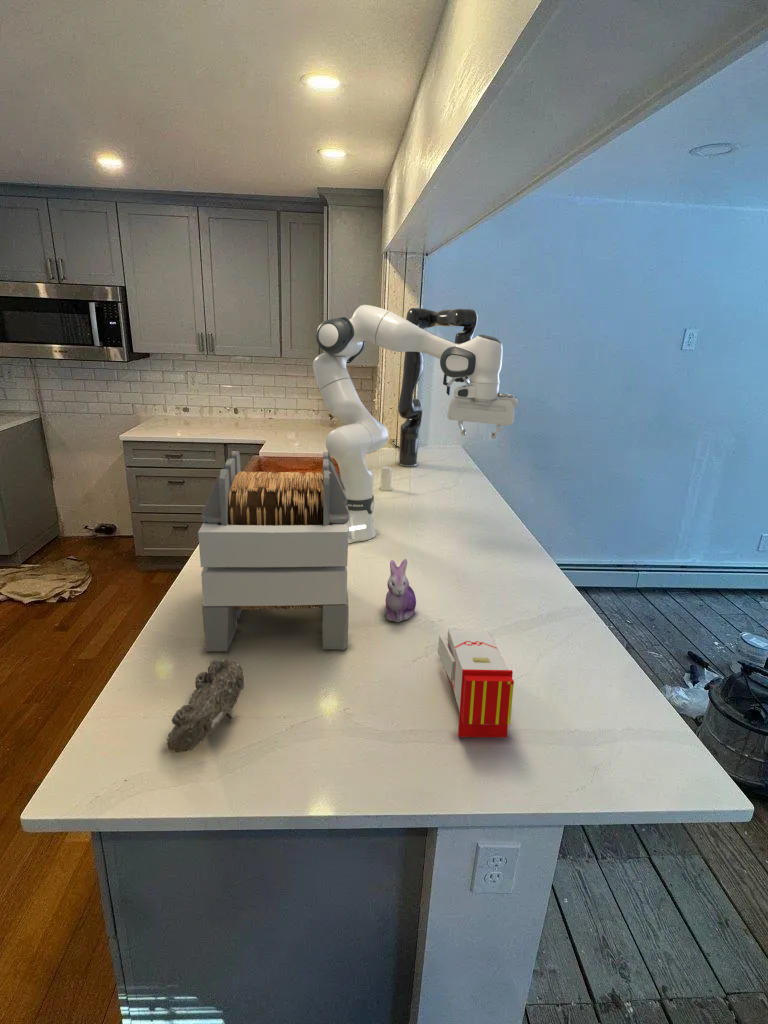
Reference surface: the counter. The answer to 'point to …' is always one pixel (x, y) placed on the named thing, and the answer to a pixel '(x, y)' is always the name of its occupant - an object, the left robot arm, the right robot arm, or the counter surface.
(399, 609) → the figurine
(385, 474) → the canister
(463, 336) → the right robot arm
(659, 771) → the counter surface
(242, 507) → the grey record crate
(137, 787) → the counter surface
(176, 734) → the fossil
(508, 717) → the toy
